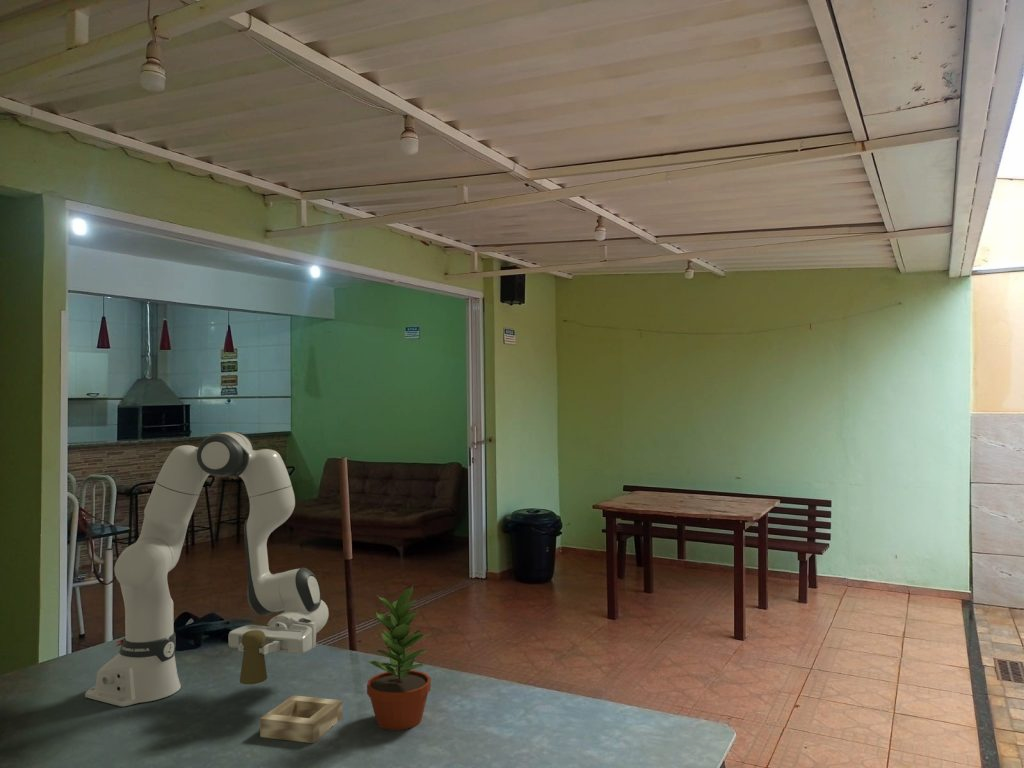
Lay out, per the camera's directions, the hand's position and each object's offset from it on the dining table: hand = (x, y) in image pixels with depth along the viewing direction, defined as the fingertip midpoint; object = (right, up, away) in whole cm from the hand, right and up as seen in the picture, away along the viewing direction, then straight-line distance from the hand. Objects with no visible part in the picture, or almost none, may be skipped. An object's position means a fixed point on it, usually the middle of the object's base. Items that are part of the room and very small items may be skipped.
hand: (251, 649), depth 170 cm
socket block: (+13, -16, -4) cm, 21 cm away
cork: (0, -7, +1) cm, 7 cm away
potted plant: (+34, -16, -1) cm, 38 cm away
